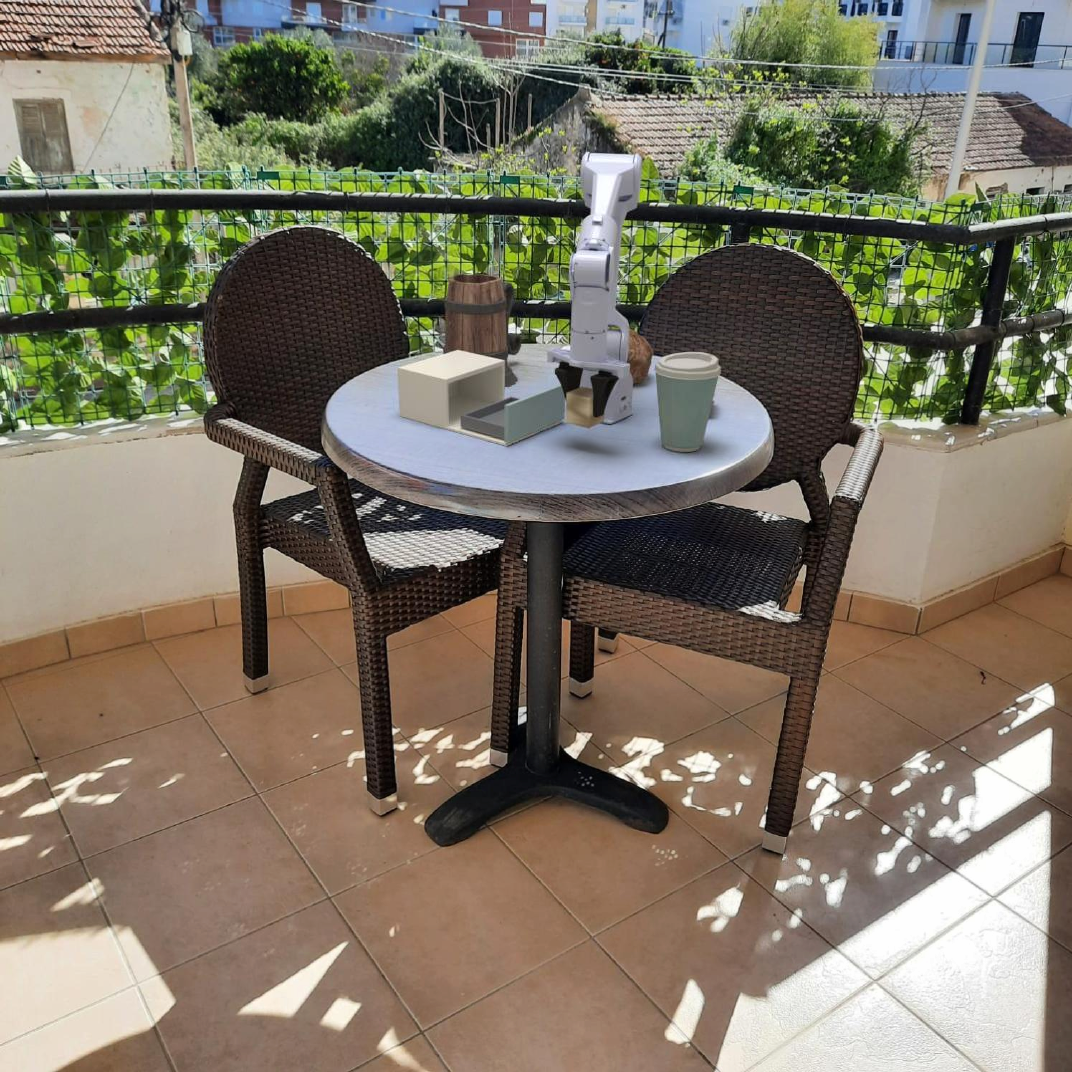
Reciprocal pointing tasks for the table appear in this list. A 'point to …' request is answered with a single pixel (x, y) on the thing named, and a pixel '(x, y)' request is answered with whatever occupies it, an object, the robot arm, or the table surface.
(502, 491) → the table surface
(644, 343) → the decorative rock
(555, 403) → the teal drawer
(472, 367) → the console box
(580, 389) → the birch block
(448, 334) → the tankard
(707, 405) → the disposable coffee cup
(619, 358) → the robot arm
